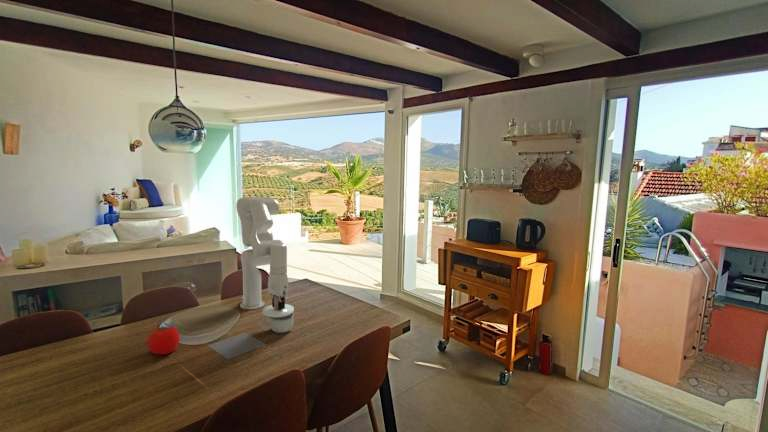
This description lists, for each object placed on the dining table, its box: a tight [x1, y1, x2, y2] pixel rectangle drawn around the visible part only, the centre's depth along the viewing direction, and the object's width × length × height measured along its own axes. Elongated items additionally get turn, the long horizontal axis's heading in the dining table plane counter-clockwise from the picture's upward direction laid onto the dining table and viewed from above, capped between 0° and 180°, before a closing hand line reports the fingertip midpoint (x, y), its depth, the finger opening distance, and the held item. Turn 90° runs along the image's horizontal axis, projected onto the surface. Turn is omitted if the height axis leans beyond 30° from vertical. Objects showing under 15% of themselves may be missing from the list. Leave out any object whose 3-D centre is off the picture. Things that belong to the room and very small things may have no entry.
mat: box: [207, 332, 266, 360], centre depth 156 cm, size 17×17×1 cm
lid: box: [262, 295, 295, 317], centre depth 171 cm, size 14×14×8 cm
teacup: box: [262, 312, 295, 334], centre depth 172 cm, size 14×11×8 cm
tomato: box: [146, 325, 180, 355], centre depth 149 cm, size 12×12×10 cm
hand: (278, 307), depth 171 cm, fingers closed on lid, 4 cm apart
